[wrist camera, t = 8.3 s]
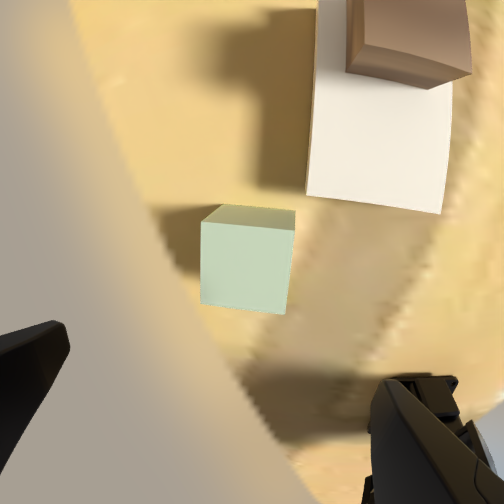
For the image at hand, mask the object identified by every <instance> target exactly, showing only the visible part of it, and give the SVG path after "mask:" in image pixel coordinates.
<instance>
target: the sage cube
mask: <svg viewBox="0 0 504 504" xmlns="http://www.w3.org/2000/svg"><path fill="white" fill-rule="evenodd" d="M294 234H295V211H294V210H285V209H275V208H264V207H253V206H242V205H230V204H222V205H221V206H220V207H219V208H217V209H216V210H215V211H214V212H212V213H211V214H210V215H209V216H207V217H206V218H205V219H204V220H202V221H201V257H200V297H201V304H205V305H212V306H219V307H226V308H234V309H241V310H249V311H257V312H265V313H274V314H283V315H285V310H286V302H287V294H288V286H289V278H290V269H291V261H292V252H293V243H294Z"/></svg>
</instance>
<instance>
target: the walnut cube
mask: <svg viewBox="0 0 504 504" xmlns="http://www.w3.org/2000/svg"><path fill="white" fill-rule="evenodd" d="M345 73H351V74H357V75H363V76H368V77H374V78H379V79H384V80H389V81H393V82H398V83H402V84H406V85H411V86H415V87H419V88H422V89H426V90H429V89H432V88H434V87H437V86H439V85H442V84H445V83H448V82H450V81H453V80H456V79H459V78H462V77H464V76H467V75H470V74H472V57H471V43H470V33H469V24H468V16H467V9H466V3H465V0H346V70H345Z"/></svg>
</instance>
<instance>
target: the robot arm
mask: <svg viewBox="0 0 504 504" xmlns="http://www.w3.org/2000/svg"><path fill="white" fill-rule="evenodd" d="M69 352H70V343H69V339H68V335H67V331H66V327H65V325H64V324H63V323H60V322H58V321H55V320H51V321H48V322H44V323H41V324H38V325H34V326H31V327H28V328H25V329H21V330H18V331H14V332H11V333H8V334H4V335H1V336H0V474H1V472H2V470H3V469H4V466H5V464H6V463H7V461H8V459H9V457H10V455H11V454H12V452H13V450H14V448H15V447H16V444H17V443H18V441H19V440H20V438H21V436H22V434H23V433H24V430H25V429H26V427H27V426H28V424H29V422H30V421H31V419H32V417H33V416H34V414H35V413H36V411H37V409H38V408H39V406H40V404H41V403H42V401H43V400H44V398H45V397H46V395H47V393H48V392H49V390H50V388H51V386H52V384H53V383H54V380H55V378H56V377H57V375H58V373H59V371H60V369H61V367H62V365H63V363H64V361H65V360H66V358H67V356H68V354H69ZM457 385H458V379H457V378H456V377H425V378H392V379H384V380H382V381H381V382H380V384H379V386H378V388H377V391H376V393H375V395H374V397H373V400H372V403H371V409H370V412H371V421H370V424H369V426H368V428H367V430H368V433H369V434H371V465H372V475H370V476H368V477H366V478H365V485H364V491H363V497H362V503H361V504H504V481H503V480H502V479H501V478H500V477H498V475H497V471H496V468H495V464H494V461H493V459H492V456H491V454H490V452H489V449H488V447H487V445H486V443H485V441H484V439H483V437H482V435H481V434H480V432H479V430H478V429H477V427H476V425H475V424H474V422H473V420H470V421H469V422H467V423H466V425H465V426H463V424H462V422H461V420H460V417H459V414H460V411H459V409H458V407H457V404H456V402H455V400H454V398H453V396H452V394H453V392H454V390H455V388H456V387H457Z"/></svg>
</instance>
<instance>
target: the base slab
mask: <svg viewBox="0 0 504 504" xmlns="http://www.w3.org/2000/svg"><path fill="white" fill-rule="evenodd" d="M345 70H346V0H317V4H316V28H315V54H314V74H313V92H312V107H311V122H310V135H309V148H308V159H307V171H306V181H305V190H306V195H308V196H317V197H325V198H334V199H342V200H350V201H357V202H365V203H372V204H379V205H386V206H392V207H399V208H405V209H411V210H418V211H424V212H429V213H435V214H440V213H441V208H442V202H443V195H444V189H445V182H446V174H447V166H448V157H449V146H450V134H451V117H452V81H450V82H448V83H445V84H442V85H439V86H437V87H434V88H432V89H429V90H426V89H422V88H419V87H415V86H411V85H406V84H402V83H398V82H393V81H389V80H384V79H379V78H374V77H368V76H363V75H357V74H351V73H345Z"/></svg>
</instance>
